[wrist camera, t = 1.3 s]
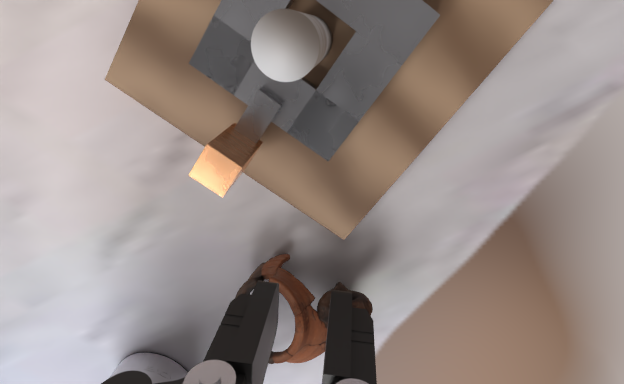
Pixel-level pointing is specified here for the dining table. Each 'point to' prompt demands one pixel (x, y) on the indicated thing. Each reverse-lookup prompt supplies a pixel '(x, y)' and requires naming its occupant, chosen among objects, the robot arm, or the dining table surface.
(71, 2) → the dining table surface
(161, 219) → the dining table surface
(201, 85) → the post base
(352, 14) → the knobbed grey plate
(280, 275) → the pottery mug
